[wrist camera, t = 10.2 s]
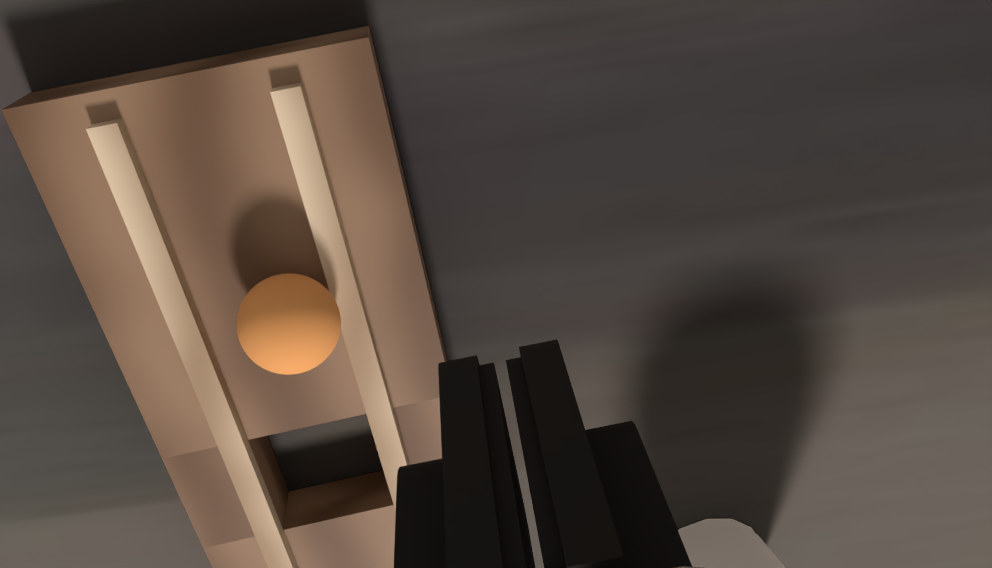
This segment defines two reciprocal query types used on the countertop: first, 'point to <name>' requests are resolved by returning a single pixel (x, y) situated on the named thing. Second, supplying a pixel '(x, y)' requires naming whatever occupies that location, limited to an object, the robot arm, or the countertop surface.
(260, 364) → the ball
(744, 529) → the foam cup
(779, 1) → the countertop surface
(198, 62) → the runway
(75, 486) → the countertop surface
